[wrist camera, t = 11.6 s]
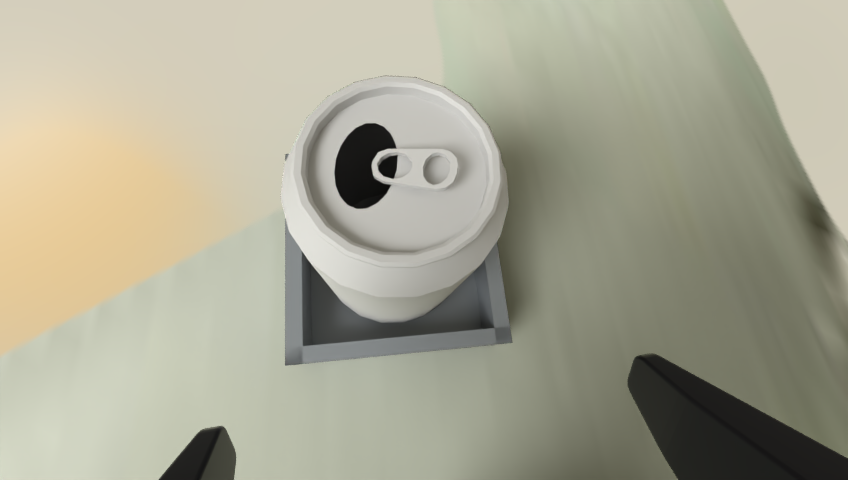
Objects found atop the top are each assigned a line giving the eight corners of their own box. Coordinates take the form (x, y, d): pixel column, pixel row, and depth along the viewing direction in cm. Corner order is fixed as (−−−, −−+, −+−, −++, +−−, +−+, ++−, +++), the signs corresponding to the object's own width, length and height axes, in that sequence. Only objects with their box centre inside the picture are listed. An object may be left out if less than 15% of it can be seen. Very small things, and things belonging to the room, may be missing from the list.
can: (342, 189, 24) (301, 32, 12) (463, 210, 24) (534, 76, 12) (313, 313, 21) (229, 263, 10) (447, 334, 22) (516, 310, 10)
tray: (496, 344, 22) (512, 342, 19) (298, 364, 21) (285, 365, 18) (471, 170, 25) (482, 146, 22) (297, 178, 24) (285, 154, 21)
